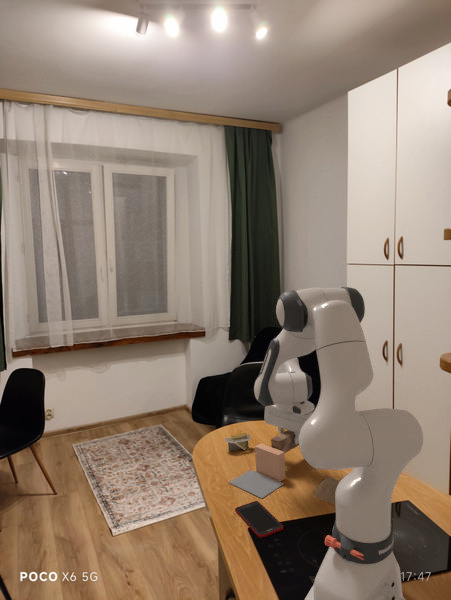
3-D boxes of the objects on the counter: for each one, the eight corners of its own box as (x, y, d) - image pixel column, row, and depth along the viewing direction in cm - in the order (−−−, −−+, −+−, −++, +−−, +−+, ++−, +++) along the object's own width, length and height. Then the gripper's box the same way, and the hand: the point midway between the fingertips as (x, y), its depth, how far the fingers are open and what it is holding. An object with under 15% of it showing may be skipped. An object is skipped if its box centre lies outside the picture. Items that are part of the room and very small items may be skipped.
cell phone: (257, 503, 126) (257, 500, 126) (285, 530, 113) (285, 526, 113) (234, 511, 123) (233, 508, 123) (260, 540, 110) (259, 536, 110)
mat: (261, 498, 128) (261, 497, 128) (229, 483, 138) (229, 482, 138) (283, 484, 135) (283, 483, 135) (250, 470, 145) (250, 469, 145)
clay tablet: (341, 511, 120) (341, 502, 120) (310, 499, 127) (310, 490, 127) (363, 489, 131) (363, 480, 131) (333, 479, 138) (333, 471, 138)
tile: (279, 482, 137) (278, 455, 136) (256, 472, 144) (255, 446, 143) (285, 478, 139) (284, 451, 138) (262, 468, 146) (260, 443, 145)
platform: (267, 453, 158) (266, 436, 157) (220, 462, 153) (219, 445, 152) (256, 440, 169) (255, 424, 168) (212, 449, 164) (211, 432, 163)
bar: (279, 456, 141) (279, 441, 141) (271, 453, 144) (271, 438, 143) (308, 440, 152) (307, 426, 152) (300, 437, 155) (299, 424, 154)
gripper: (259, 399, 152) (261, 436, 153) (307, 411, 137) (309, 452, 138) (270, 394, 156) (272, 431, 157) (318, 406, 142) (320, 446, 143)
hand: (290, 441), depth 148 cm, fingers closed on bar, 3 cm apart
